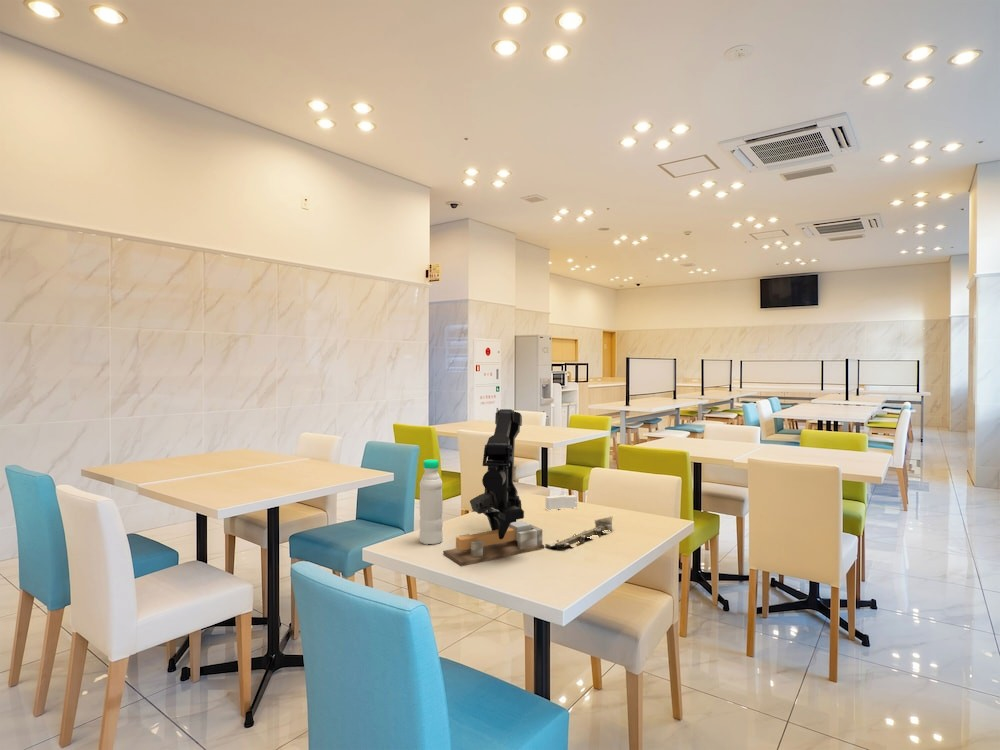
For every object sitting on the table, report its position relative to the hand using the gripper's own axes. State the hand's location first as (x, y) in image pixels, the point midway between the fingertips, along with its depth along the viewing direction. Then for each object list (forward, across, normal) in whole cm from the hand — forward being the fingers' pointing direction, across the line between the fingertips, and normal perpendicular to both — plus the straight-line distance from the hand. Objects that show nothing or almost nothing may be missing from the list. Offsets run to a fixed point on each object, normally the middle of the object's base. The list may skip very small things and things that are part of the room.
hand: (498, 537), depth 158 cm
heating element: (+5, +4, +28) cm, 29 cm away
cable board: (+4, 0, -2) cm, 4 cm away
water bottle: (+4, -18, -13) cm, 23 cm away
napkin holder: (+5, -27, +45) cm, 53 cm away
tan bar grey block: (+1, 0, -2) cm, 2 cm away
